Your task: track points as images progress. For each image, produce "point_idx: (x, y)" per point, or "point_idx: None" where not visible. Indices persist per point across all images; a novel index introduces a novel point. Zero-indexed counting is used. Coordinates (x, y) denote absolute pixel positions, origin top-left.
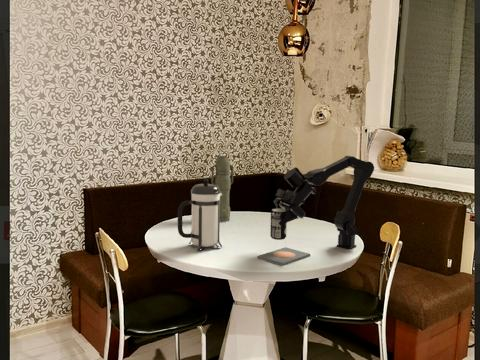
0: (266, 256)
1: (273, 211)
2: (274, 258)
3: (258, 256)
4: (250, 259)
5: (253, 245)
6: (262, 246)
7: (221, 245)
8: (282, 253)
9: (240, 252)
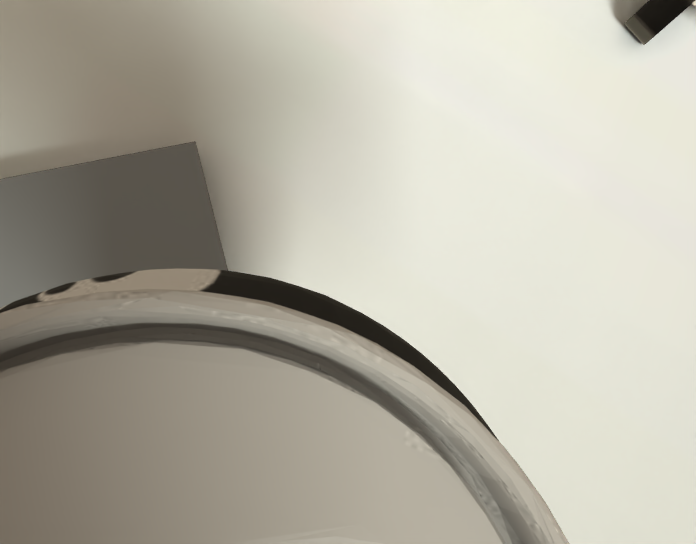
0: (120, 207)
1: (166, 315)
2: (5, 242)
3: (183, 146)
4: (199, 70)
5: (606, 370)
6: (538, 442)
7: (651, 30)
8: None
9: (443, 116)
